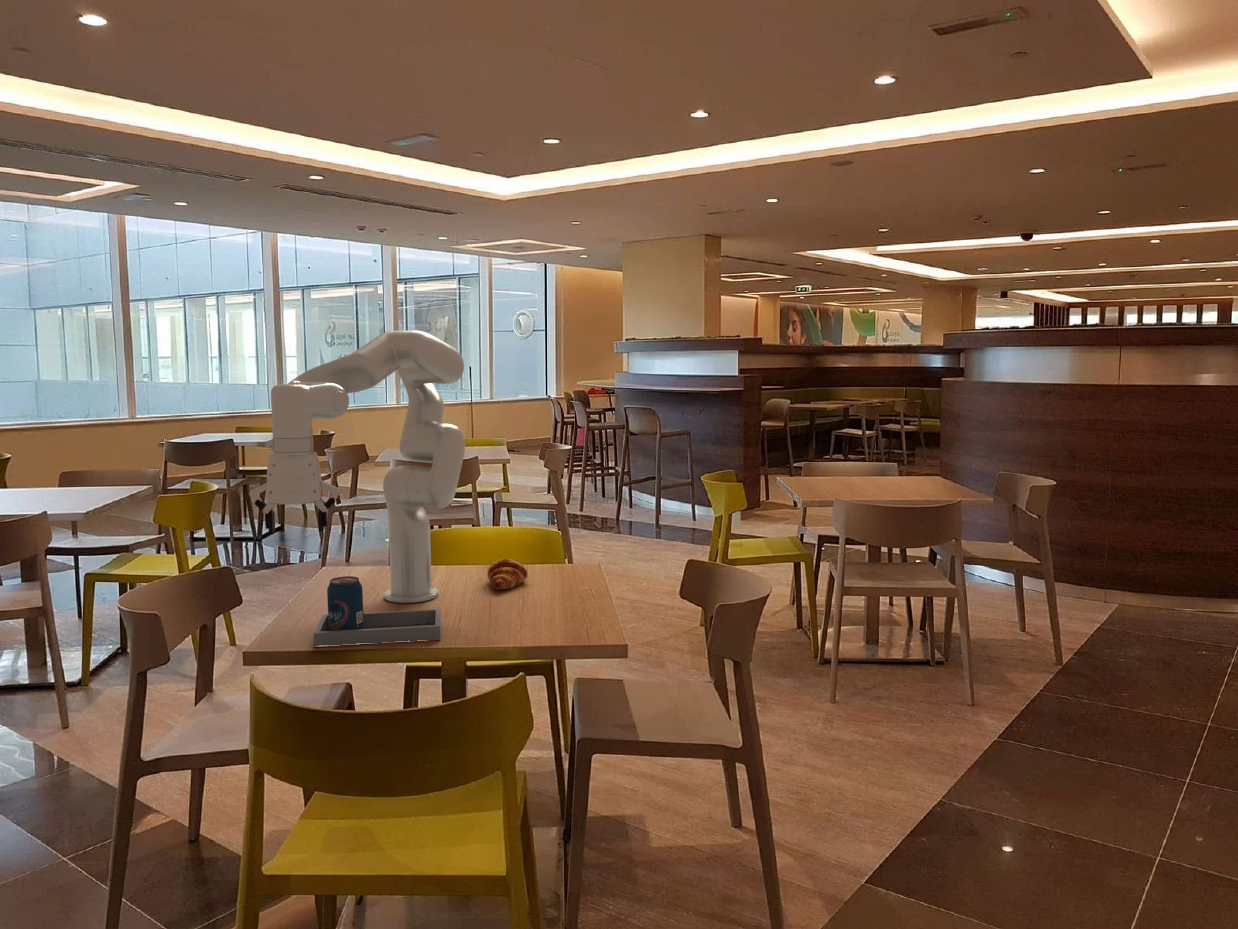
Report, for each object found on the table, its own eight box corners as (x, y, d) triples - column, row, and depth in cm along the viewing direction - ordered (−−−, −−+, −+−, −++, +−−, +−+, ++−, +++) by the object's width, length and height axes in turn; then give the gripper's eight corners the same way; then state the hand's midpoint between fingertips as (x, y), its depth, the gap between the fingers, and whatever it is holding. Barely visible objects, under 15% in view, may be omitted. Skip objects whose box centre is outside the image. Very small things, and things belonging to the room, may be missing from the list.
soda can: (321, 639, 182) (319, 582, 180) (343, 629, 188) (341, 574, 187) (350, 643, 179) (347, 585, 178) (371, 633, 186) (369, 577, 184)
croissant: (504, 585, 239) (490, 559, 238) (537, 568, 238) (523, 542, 237) (488, 605, 218) (472, 577, 217) (524, 587, 217) (508, 558, 216)
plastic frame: (323, 628, 189) (322, 614, 189) (440, 622, 194) (440, 608, 193) (314, 648, 176) (313, 633, 176) (440, 640, 181) (440, 626, 181)
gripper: (243, 449, 172) (247, 536, 174) (336, 447, 175) (339, 533, 177) (251, 445, 179) (255, 529, 181) (340, 444, 183) (343, 526, 185)
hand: (296, 531), depth 179 cm, fingers open, 9 cm apart
